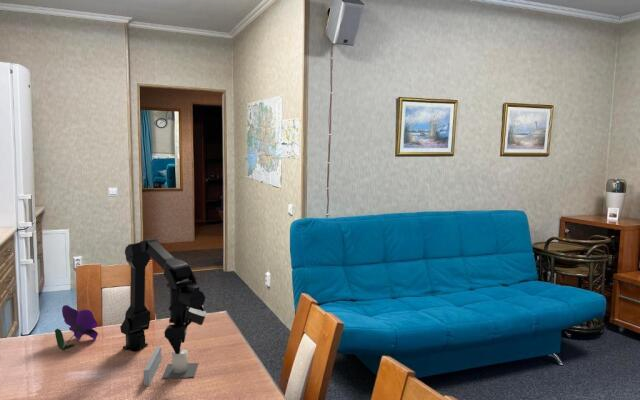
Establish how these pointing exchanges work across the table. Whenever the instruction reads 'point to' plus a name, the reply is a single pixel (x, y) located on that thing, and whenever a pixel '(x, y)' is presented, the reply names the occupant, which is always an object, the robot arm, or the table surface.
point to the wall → (152, 366)
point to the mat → (188, 374)
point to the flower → (76, 325)
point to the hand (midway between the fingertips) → (180, 347)
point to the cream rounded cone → (180, 362)
